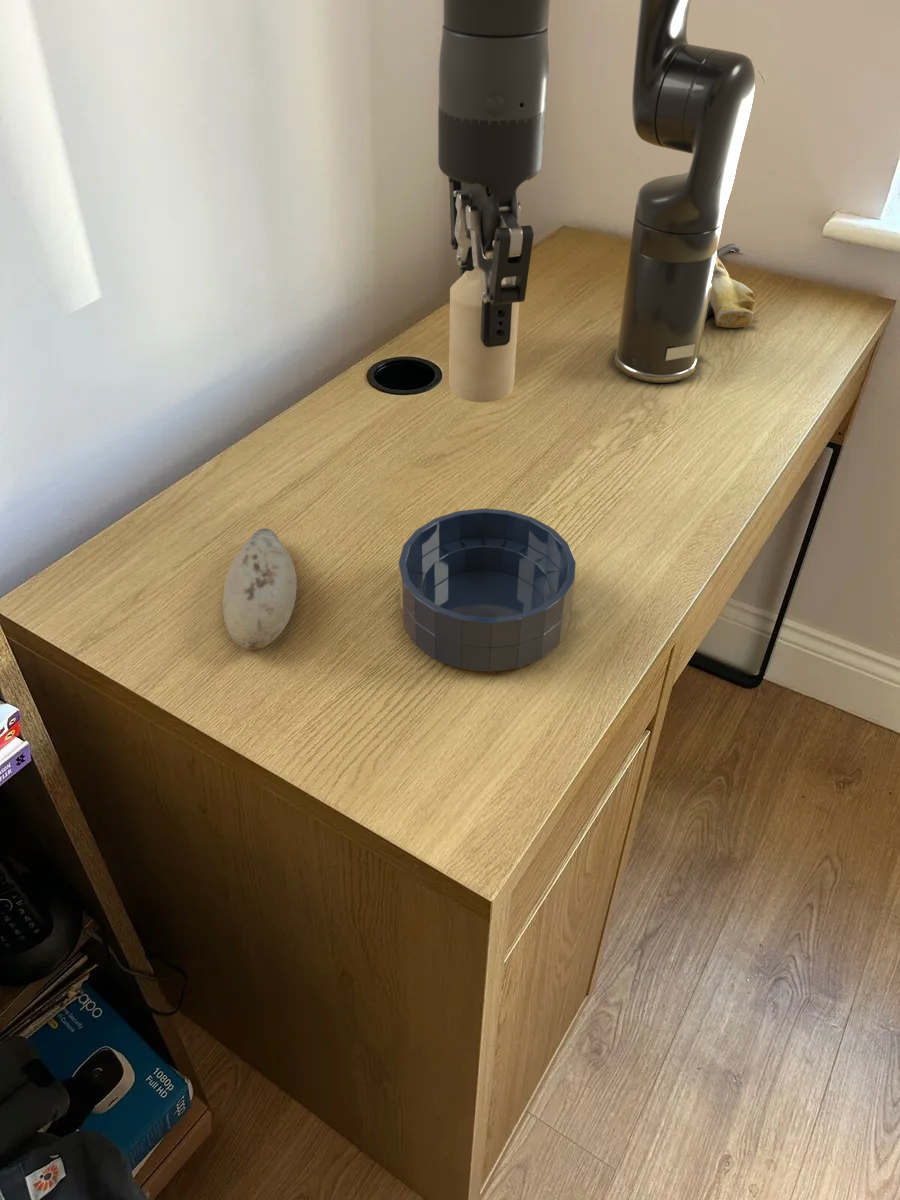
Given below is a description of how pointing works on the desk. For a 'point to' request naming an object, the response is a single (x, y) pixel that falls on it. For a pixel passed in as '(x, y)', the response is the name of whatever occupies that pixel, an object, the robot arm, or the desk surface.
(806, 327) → the desk surface
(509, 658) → the bowl
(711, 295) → the figurine
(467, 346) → the candle
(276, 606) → the decorative stone
